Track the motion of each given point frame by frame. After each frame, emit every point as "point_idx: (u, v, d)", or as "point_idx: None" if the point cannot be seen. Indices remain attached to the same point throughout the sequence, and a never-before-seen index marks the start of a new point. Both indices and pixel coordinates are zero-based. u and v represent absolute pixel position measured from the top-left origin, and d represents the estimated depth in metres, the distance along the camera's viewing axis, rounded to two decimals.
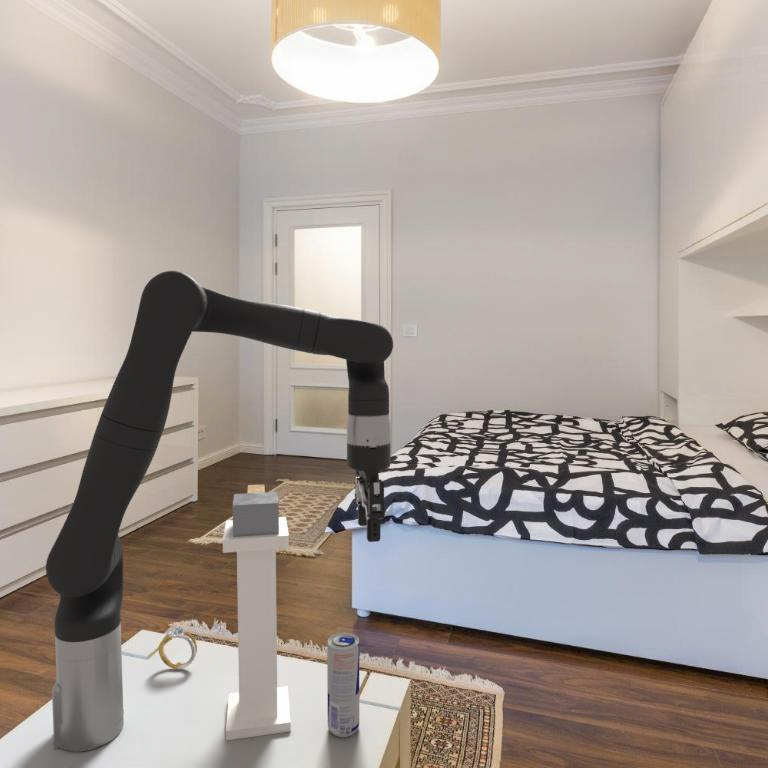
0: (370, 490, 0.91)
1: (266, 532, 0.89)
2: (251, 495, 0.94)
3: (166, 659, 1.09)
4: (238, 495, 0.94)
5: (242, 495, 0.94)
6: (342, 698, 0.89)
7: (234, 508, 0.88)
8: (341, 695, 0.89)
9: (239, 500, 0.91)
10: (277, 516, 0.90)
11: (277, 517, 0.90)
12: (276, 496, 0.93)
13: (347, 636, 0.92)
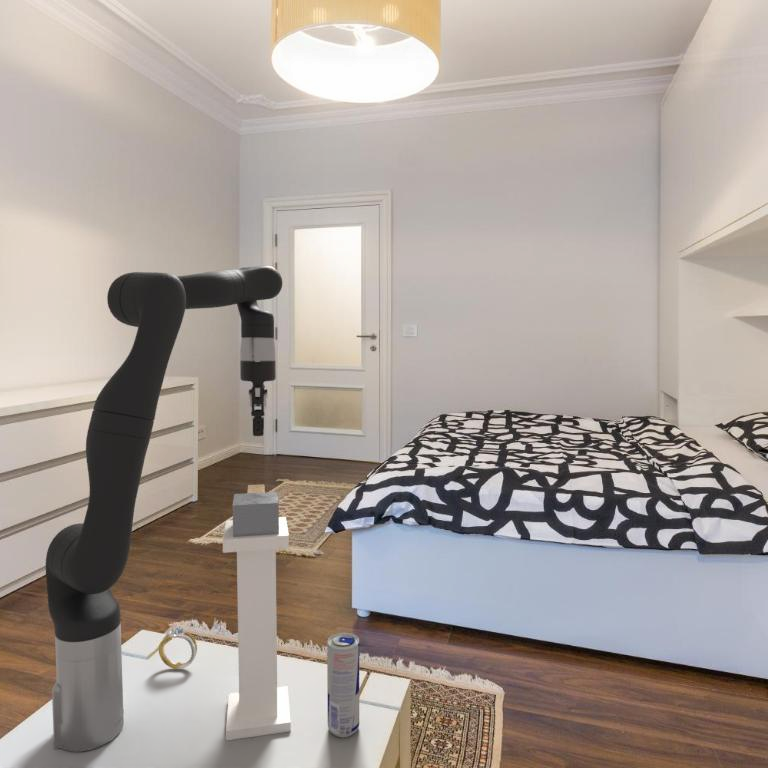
0: (252, 393, 1.17)
1: (266, 532, 0.89)
2: (251, 495, 0.94)
3: (166, 659, 1.09)
4: (238, 495, 0.94)
5: (242, 495, 0.94)
6: (342, 698, 0.89)
7: (234, 508, 0.88)
8: (341, 695, 0.89)
9: (239, 500, 0.91)
10: (277, 516, 0.90)
11: (277, 517, 0.90)
12: (276, 496, 0.93)
13: (347, 636, 0.92)
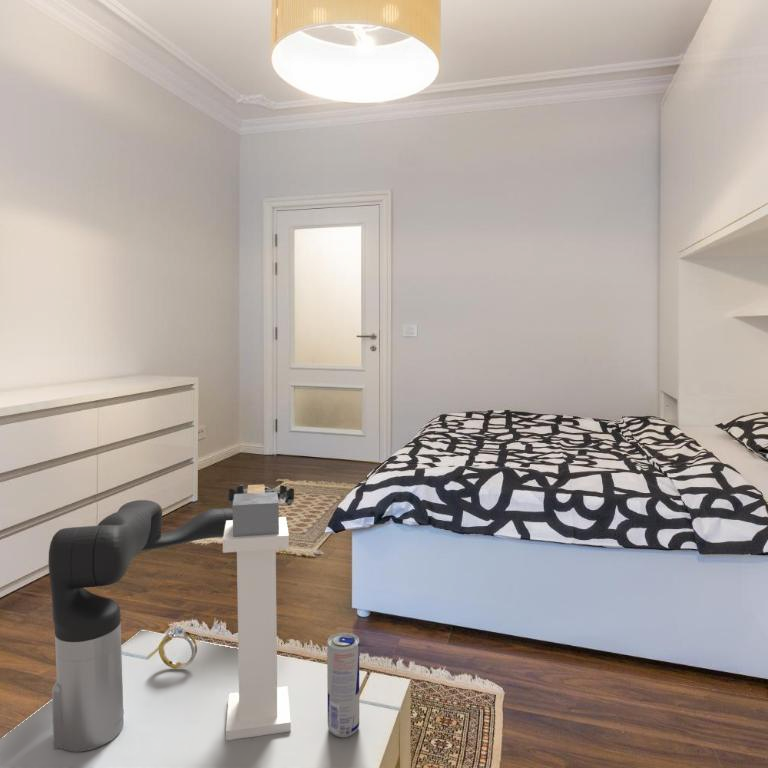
0: (230, 504, 1.28)
1: (266, 532, 0.89)
2: (251, 495, 0.94)
3: (166, 659, 1.09)
4: (238, 495, 0.94)
5: (242, 495, 0.94)
6: (342, 698, 0.89)
7: (234, 508, 0.88)
8: (341, 695, 0.89)
9: (239, 500, 0.91)
10: (277, 516, 0.90)
11: (277, 517, 0.90)
12: (276, 496, 0.93)
13: (347, 636, 0.92)
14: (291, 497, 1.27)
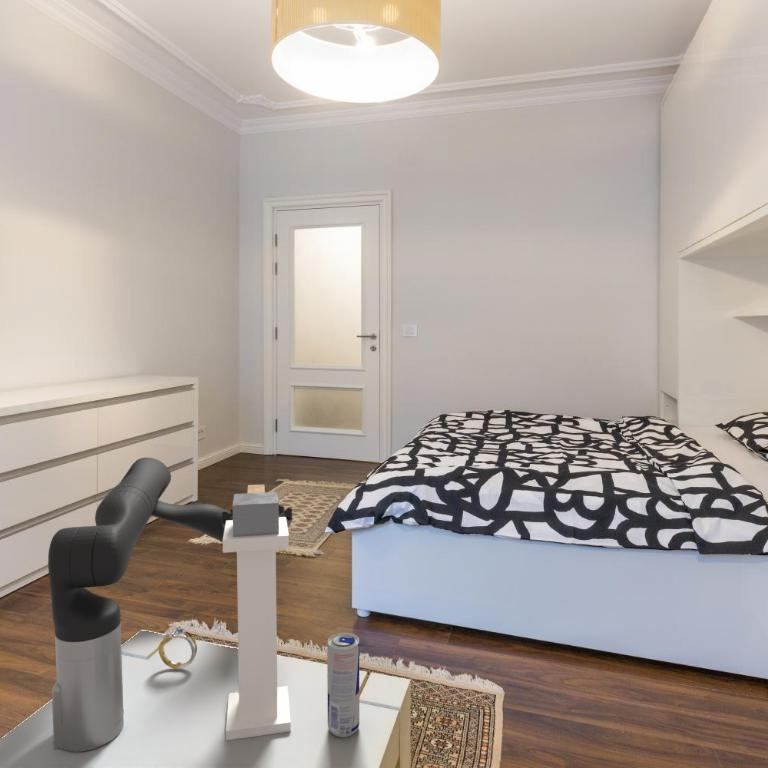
0: (224, 528, 1.20)
1: (266, 532, 0.89)
2: (251, 495, 0.94)
3: (166, 659, 1.09)
4: (238, 495, 0.94)
5: (242, 495, 0.94)
6: (342, 698, 0.89)
7: (234, 508, 0.88)
8: (341, 695, 0.89)
9: (239, 500, 0.91)
10: (277, 516, 0.90)
11: (277, 517, 0.90)
12: (276, 496, 0.93)
13: (347, 636, 0.92)
14: (289, 517, 1.19)
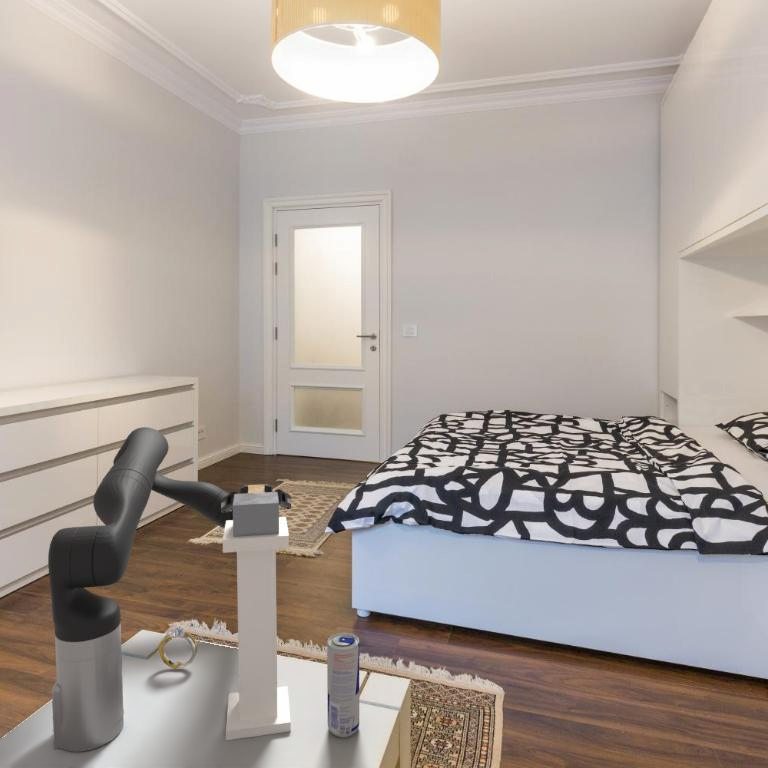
0: (222, 510, 1.07)
1: (266, 532, 0.89)
2: (251, 495, 0.94)
3: (166, 659, 1.09)
4: (238, 495, 0.94)
5: (242, 495, 0.94)
6: (342, 698, 0.89)
7: (234, 508, 0.88)
8: (341, 695, 0.89)
9: (239, 500, 0.91)
10: (277, 516, 0.90)
11: (277, 517, 0.90)
12: (276, 496, 0.93)
13: (347, 636, 0.92)
14: None
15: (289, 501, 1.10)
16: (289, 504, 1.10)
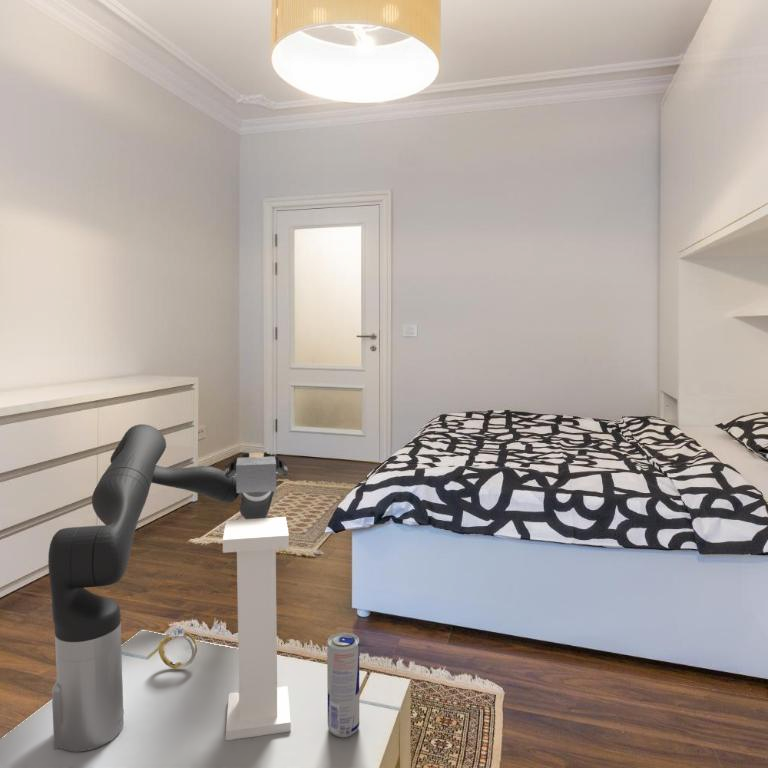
0: (226, 475, 1.21)
1: (265, 489, 1.03)
2: (252, 458, 1.07)
3: (166, 659, 1.09)
4: (241, 458, 1.07)
5: (244, 458, 1.07)
6: (342, 698, 0.89)
7: (237, 468, 1.02)
8: (341, 695, 0.89)
9: (242, 462, 1.04)
10: (275, 475, 1.03)
11: (275, 476, 1.03)
12: (274, 459, 1.07)
13: (347, 636, 0.92)
14: None
15: (285, 468, 1.24)
16: (285, 471, 1.23)
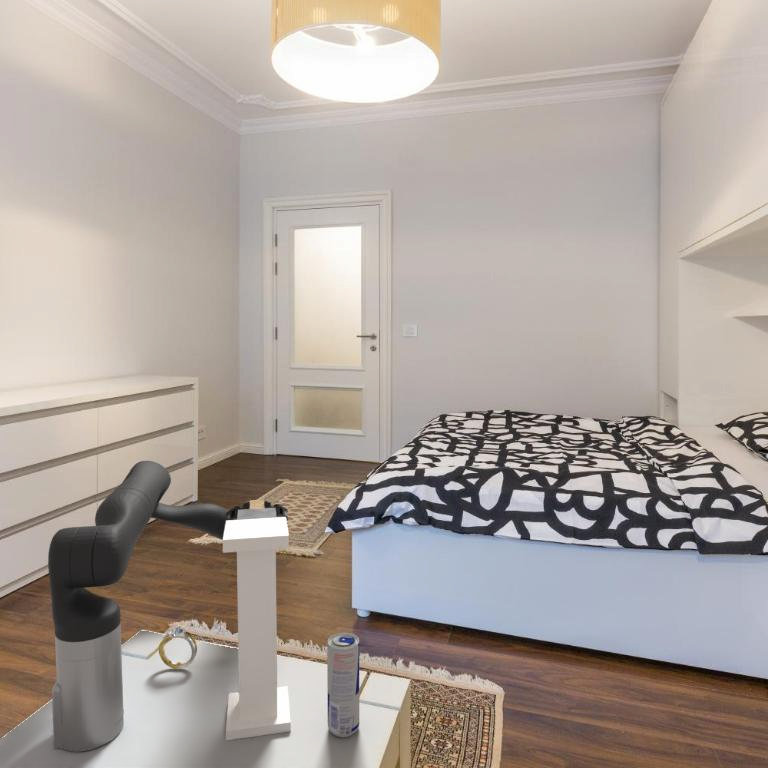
0: None
1: None
2: (253, 511, 1.08)
3: (166, 659, 1.09)
4: (241, 511, 1.08)
5: (245, 511, 1.08)
6: (342, 698, 0.89)
7: None
8: (341, 695, 0.89)
9: (242, 515, 1.05)
10: None
11: None
12: (274, 512, 1.07)
13: (347, 636, 0.92)
14: None
15: (286, 514, 1.24)
16: (286, 517, 1.24)
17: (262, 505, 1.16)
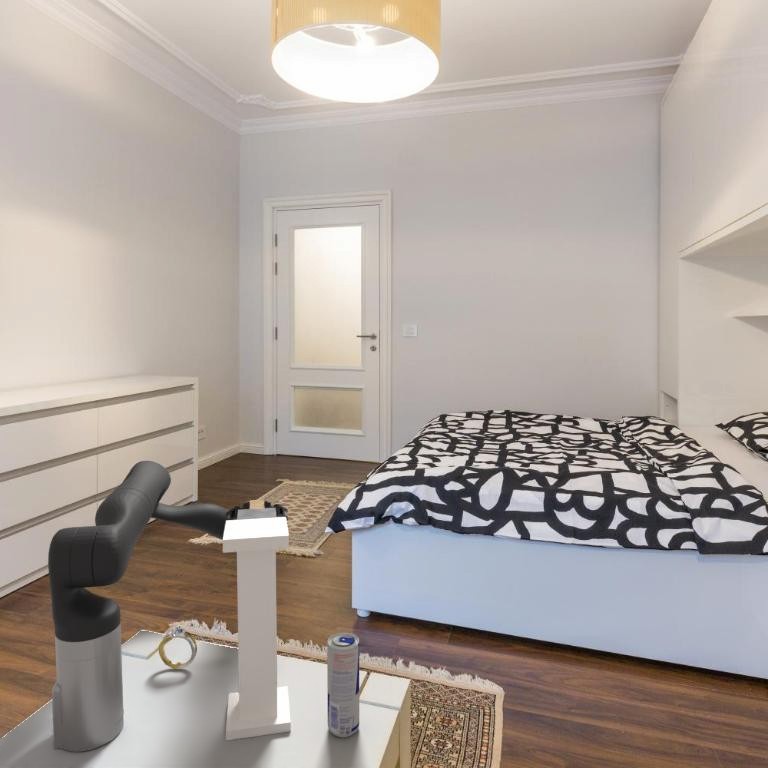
0: None
1: None
2: (253, 511, 1.08)
3: (166, 659, 1.09)
4: (241, 511, 1.08)
5: (245, 511, 1.08)
6: (342, 698, 0.89)
7: None
8: (341, 695, 0.89)
9: (242, 515, 1.05)
10: None
11: None
12: (274, 512, 1.07)
13: (347, 636, 0.92)
14: None
15: (286, 514, 1.24)
16: (286, 517, 1.24)
17: (262, 505, 1.16)
